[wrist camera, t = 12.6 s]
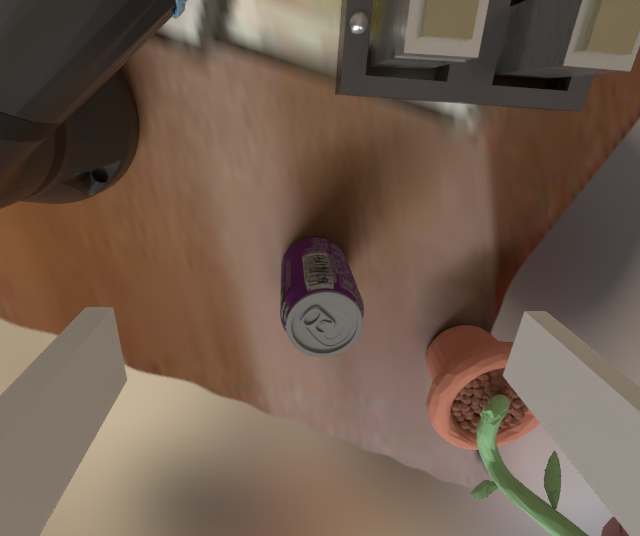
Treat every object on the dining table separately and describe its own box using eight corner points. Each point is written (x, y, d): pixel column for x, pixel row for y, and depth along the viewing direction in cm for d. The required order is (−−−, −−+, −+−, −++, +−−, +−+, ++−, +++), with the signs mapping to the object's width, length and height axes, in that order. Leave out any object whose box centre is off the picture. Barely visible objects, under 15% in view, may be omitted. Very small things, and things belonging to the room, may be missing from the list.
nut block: (370, 67, 33) (405, 53, 23) (376, -4, 30) (418, -52, 21) (425, 70, 33) (482, 58, 24) (435, 1, 31) (502, -44, 21)
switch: (335, 94, 33) (355, 91, 24) (345, -45, 29) (375, -116, 20) (559, 110, 36) (661, 113, 26) (597, -16, 31) (735, -68, 22)
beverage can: (268, 271, 40) (261, 334, 29) (308, 221, 38) (318, 269, 27) (318, 304, 42) (330, 375, 31) (359, 259, 40) (386, 317, 29)
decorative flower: (481, 403, 51) (706, 746, 24) (388, 392, 49) (520, 760, 22) (528, 312, 45) (895, 628, 18) (425, 295, 43) (669, 629, 16)
